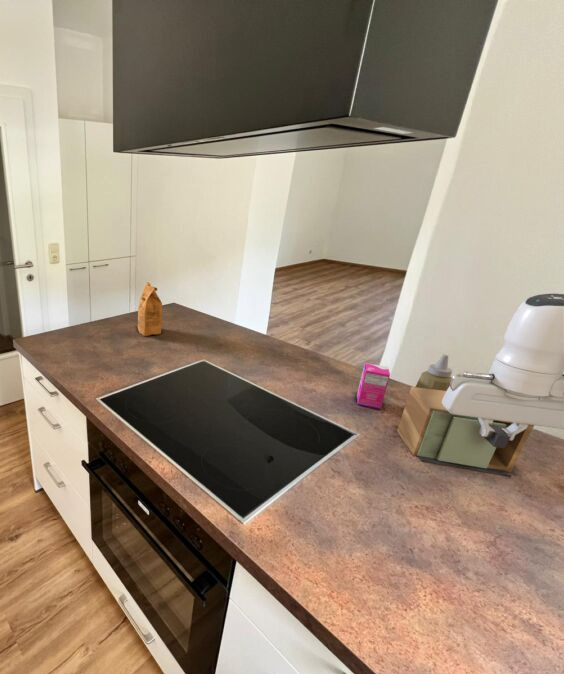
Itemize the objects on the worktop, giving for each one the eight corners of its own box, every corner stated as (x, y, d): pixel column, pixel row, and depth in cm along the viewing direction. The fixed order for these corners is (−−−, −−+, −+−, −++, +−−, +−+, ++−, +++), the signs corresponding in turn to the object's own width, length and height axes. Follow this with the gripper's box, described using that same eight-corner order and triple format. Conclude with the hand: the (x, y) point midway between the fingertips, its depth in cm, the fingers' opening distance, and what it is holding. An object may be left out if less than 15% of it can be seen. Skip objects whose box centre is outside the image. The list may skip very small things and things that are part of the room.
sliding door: (485, 466, 79) (504, 423, 75) (498, 481, 75) (520, 436, 71) (436, 458, 82) (453, 416, 78) (446, 472, 78) (464, 428, 74)
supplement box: (355, 396, 109) (364, 362, 105) (379, 401, 106) (389, 366, 102) (356, 405, 104) (365, 369, 100) (380, 410, 101) (391, 374, 97)
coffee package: (155, 326, 169) (157, 280, 161) (163, 336, 158) (165, 287, 150) (135, 328, 168) (135, 281, 160) (141, 337, 156) (142, 288, 148)
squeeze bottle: (398, 409, 102) (417, 351, 95) (419, 404, 104) (439, 347, 98) (429, 425, 95) (452, 363, 88) (450, 419, 97) (474, 359, 90)
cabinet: (483, 444, 87) (504, 398, 83) (516, 477, 77) (542, 427, 72) (396, 430, 93) (411, 386, 88) (416, 460, 82) (434, 412, 78)
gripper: (464, 377, 69) (441, 436, 74) (607, 393, 63) (572, 456, 68) (447, 363, 75) (427, 419, 80) (577, 377, 69) (547, 436, 74)
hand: (495, 436), depth 74 cm, fingers closed on sliding door, 2 cm apart
